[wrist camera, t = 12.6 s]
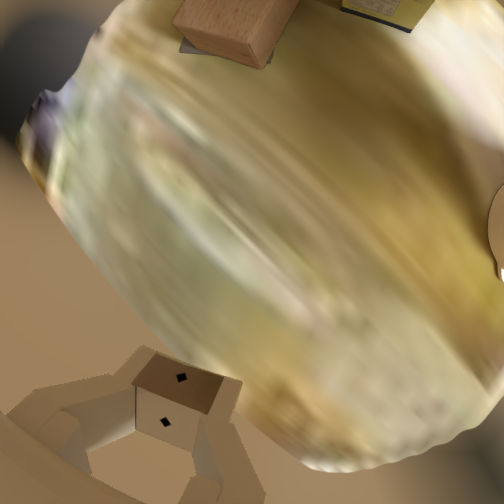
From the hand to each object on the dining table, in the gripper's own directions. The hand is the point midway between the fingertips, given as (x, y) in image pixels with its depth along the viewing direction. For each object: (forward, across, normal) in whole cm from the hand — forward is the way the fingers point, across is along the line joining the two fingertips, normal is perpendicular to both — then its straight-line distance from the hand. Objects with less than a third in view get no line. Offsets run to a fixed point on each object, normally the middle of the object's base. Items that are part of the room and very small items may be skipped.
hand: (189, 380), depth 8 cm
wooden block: (+29, +12, -18) cm, 36 cm away
